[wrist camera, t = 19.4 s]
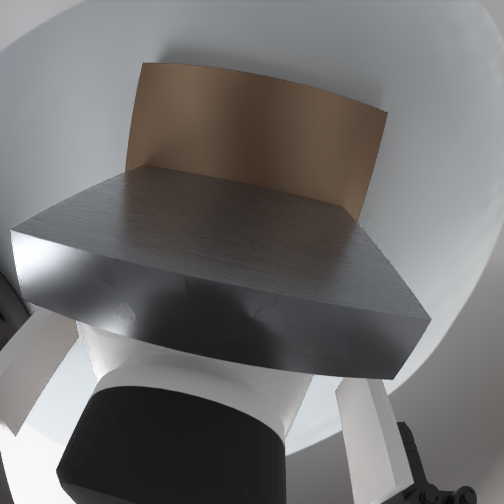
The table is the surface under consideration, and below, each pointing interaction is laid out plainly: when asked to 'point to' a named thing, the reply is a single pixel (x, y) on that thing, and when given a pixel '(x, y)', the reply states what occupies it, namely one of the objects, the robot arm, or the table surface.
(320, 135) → the shelf
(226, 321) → the bookend
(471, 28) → the table surface
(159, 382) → the container
